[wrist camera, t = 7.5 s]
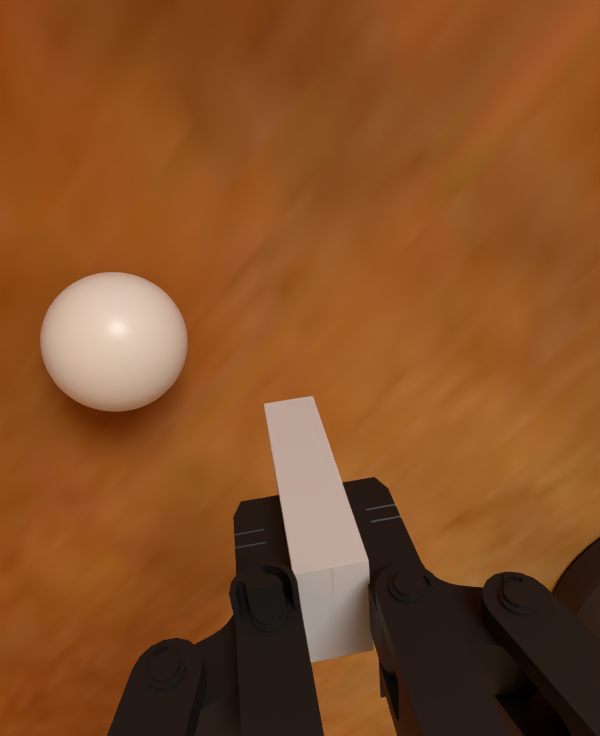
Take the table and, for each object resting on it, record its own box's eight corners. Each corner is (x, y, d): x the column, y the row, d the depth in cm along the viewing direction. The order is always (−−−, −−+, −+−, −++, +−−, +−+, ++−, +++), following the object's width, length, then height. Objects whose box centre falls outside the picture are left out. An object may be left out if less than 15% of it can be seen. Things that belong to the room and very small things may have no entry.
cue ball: (68, 457, 19) (66, 389, 24) (213, 412, 21) (185, 357, 26) (12, 319, 17) (21, 273, 21) (183, 280, 18) (158, 244, 23)
